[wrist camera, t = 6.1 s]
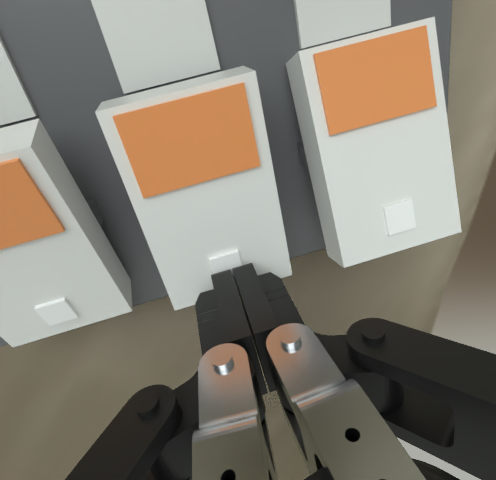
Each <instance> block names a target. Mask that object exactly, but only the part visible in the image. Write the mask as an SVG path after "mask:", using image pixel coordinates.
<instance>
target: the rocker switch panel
mask: <svg viewBox="0 0 496 480" xmlns="http://www.w3.org/2000/svg"><path fill="white" fill-rule="evenodd" d="M451 14H452V0H0V128H3V127H7V126H11V125H15V124H19V123H23V122H27V121H31V120H35V119H40V121H41V122H42V124H43V126H44V128H45V129H46V131H47V133H48V135H49V136H50V138H51V140H52V142H53V144H54V145H55V147H56V149H57V151H58V152H59V154H60V156H61V158H62V159H63V161H64V163H65V165H66V166H67V168H68V170H69V172H70V174H71V175H72V177H73V179H74V181H75V182H76V184H77V186H78V188H79V189H80V191H81V193H82V195H83V196H84V198H85V200H86V202H87V203H88V205H89V207H90V209H91V211H92V212H93V214H94V216H95V218H96V219H97V221H98V223H99V225H100V226H101V228H102V230H103V232H104V233H105V235H106V237H107V239H108V241H109V242H110V244H111V246H112V248H113V249H114V251H115V253H116V255H117V256H118V258H119V260H120V262H121V263H122V265H123V267H124V269H125V271H126V272H127V274H128V276H129V278H130V279H131V294H132V306H135V305H139V304H142V303H145V302H149V301H152V300H155V299H159V298H162V297H165V296H169V295H168V292H167V290H166V287H165V285H164V283H163V280H162V278H161V275H160V273H159V270H158V268H157V265H156V263H155V260H154V258H153V255H152V253H151V250H150V248H149V245H148V243H147V240H146V238H145V235H144V233H143V230H142V228H141V225H140V223H139V220H138V218H137V215H136V213H135V210H134V208H133V205H132V203H131V200H130V198H129V196H128V193H127V191H126V188H125V186H124V183H123V181H122V178H121V176H120V173H119V171H118V168H117V166H116V163H115V161H114V158H113V156H112V153H111V151H110V148H109V146H108V143H107V141H106V138H105V136H104V133H103V131H102V128H101V126H100V123H99V121H98V118H97V116H96V113H95V111H96V110H97V108H98V107H99V105H100V104H101V102H103V101H107V100H111V99H115V98H119V97H123V96H127V95H131V94H135V93H138V92H142V91H146V90H150V89H154V88H158V87H162V86H166V85H170V84H174V83H178V82H182V81H185V80H189V79H193V78H197V77H201V76H205V75H209V74H213V73H217V72H221V71H225V70H229V69H233V68H236V67H240V66H245V67H248V68H250V69H253V70H255V71H256V76H257V82H258V87H259V93H260V98H261V104H262V109H263V115H264V120H265V126H266V131H267V137H268V142H269V148H270V153H271V159H272V164H273V170H274V176H275V181H276V187H277V192H278V198H279V203H280V209H281V214H282V220H283V225H284V231H285V236H286V242H287V247H288V253H289V258H290V259H291V258H294V257H298V256H301V255H304V254H307V253H311V252H314V251H317V250H321V249H324V248H326V245H325V241H324V236H323V232H322V227H321V223H320V218H319V214H318V209H317V205H316V200H315V195H314V191H313V186H312V182H311V177H310V173H309V168H308V164H307V159H306V155H305V150H304V145H303V141H302V136H301V132H300V127H299V123H298V118H297V114H296V109H295V104H294V100H293V95H292V91H291V86H290V82H289V77H288V73H287V68H286V64H285V63H286V62H288V61H289V60H290V59H291V58H292V57H293V56H294V55H295V54H296V53H297V52H298V51H301V50H305V49H309V48H313V47H317V46H321V45H325V44H329V43H332V42H336V41H340V40H344V39H348V38H352V37H356V36H360V35H364V34H368V33H372V32H376V31H380V30H383V29H387V28H391V27H395V26H399V25H403V24H407V23H411V22H415V21H419V20H423V19H427V18H430V17H434V16H435V24H436V32H437V40H438V48H439V56H440V64H441V72H442V80H443V88H444V96H445V104H446V112H447V105H448V82H449V59H450V37H451ZM6 344H8V343H7V342H6V341H5V340H4V339H3V338H2V337H0V346H3V345H6Z"/></svg>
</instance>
